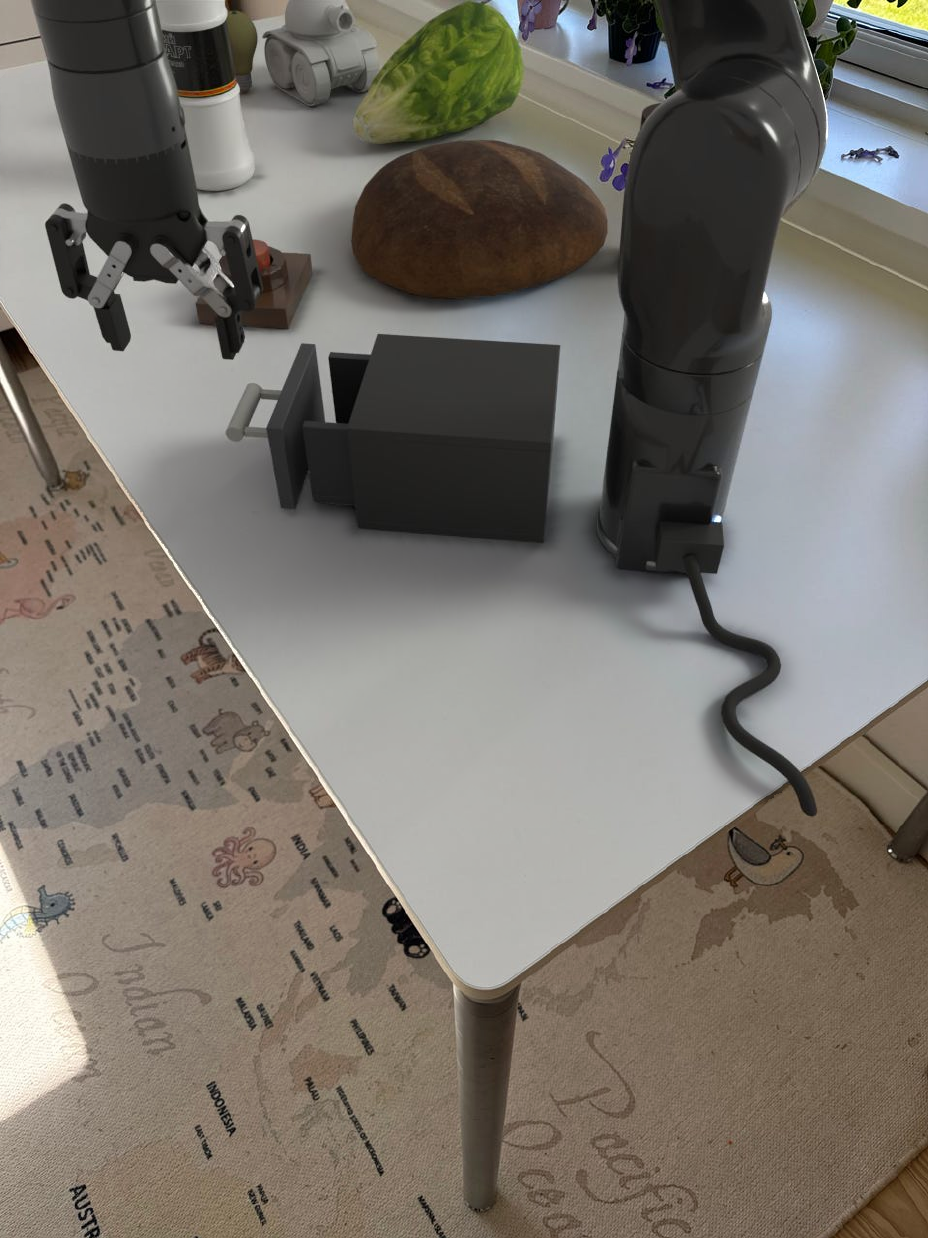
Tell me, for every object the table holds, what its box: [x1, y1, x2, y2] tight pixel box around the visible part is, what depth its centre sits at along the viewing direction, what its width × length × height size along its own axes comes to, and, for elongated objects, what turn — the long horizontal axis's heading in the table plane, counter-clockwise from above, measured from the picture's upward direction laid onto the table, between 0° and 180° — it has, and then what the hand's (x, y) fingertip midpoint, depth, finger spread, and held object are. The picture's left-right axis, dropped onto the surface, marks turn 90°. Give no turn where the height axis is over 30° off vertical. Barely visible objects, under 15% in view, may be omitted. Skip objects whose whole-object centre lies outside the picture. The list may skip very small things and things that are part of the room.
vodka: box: [156, 0, 256, 192], centre depth 111 cm, size 9×9×30 cm
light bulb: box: [226, 10, 259, 94], centre depth 136 cm, size 6×6×10 cm
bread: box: [350, 139, 609, 299], centre depth 107 cm, size 28×27×9 cm
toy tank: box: [261, 0, 381, 107], centre depth 136 cm, size 15×11×13 cm
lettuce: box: [352, 0, 525, 145], centre depth 126 cm, size 14×23×13 cm, turn 126°
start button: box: [252, 238, 271, 270], centre depth 99 cm, size 4×4×2 cm
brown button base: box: [195, 245, 314, 330], centre depth 101 cm, size 11×9×4 cm
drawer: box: [225, 342, 371, 510], centre depth 80 cm, size 18×11×8 cm, turn 83°
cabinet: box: [347, 333, 561, 544], centre depth 79 cm, size 15×13×10 cm
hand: (177, 349), depth 76 cm, fingers open, 8 cm apart
